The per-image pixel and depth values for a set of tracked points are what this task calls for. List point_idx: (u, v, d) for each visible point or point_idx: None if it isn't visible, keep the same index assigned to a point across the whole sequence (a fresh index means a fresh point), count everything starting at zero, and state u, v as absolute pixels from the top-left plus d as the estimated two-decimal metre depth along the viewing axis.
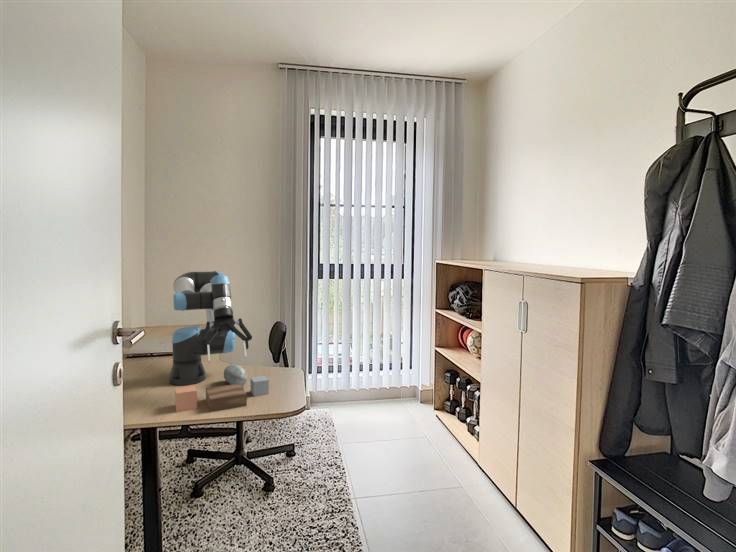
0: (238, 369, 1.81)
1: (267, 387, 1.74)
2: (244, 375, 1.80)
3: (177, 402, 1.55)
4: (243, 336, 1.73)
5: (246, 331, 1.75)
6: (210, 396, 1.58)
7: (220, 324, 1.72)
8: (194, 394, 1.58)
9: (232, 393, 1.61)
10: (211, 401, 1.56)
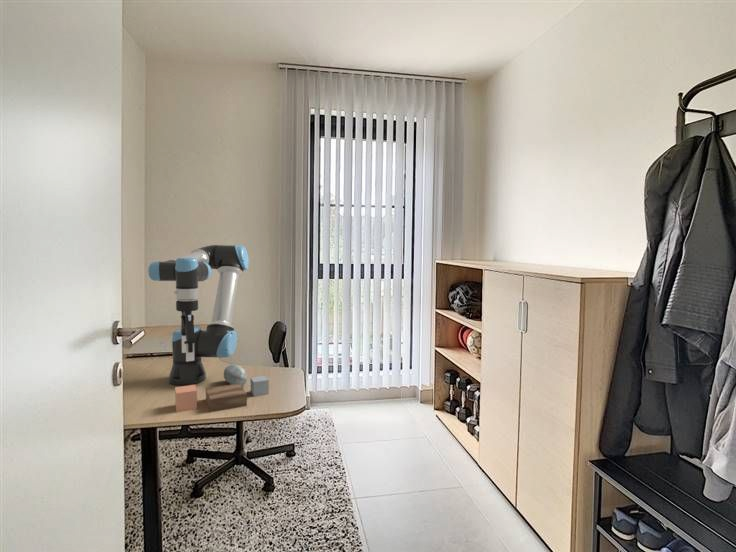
0: (238, 369, 1.81)
1: (267, 387, 1.74)
2: (244, 375, 1.80)
3: (177, 402, 1.55)
4: (186, 338, 1.52)
5: (186, 333, 1.50)
6: (210, 396, 1.58)
7: (181, 318, 1.58)
8: (194, 394, 1.58)
9: (232, 393, 1.61)
10: (211, 401, 1.56)
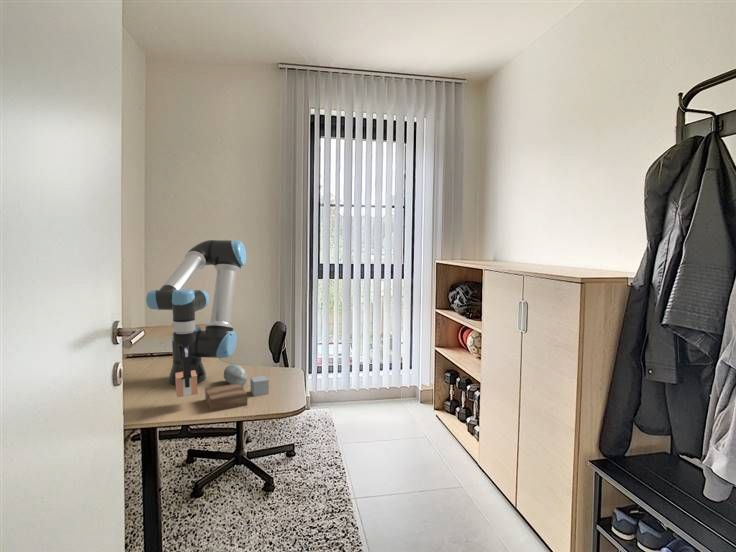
0: (238, 369, 1.81)
1: (267, 387, 1.74)
2: (244, 375, 1.80)
3: (177, 387, 1.55)
4: (183, 373, 1.55)
5: (183, 369, 1.53)
6: (211, 396, 1.58)
7: None
8: (195, 379, 1.58)
9: (232, 393, 1.61)
10: (212, 401, 1.56)
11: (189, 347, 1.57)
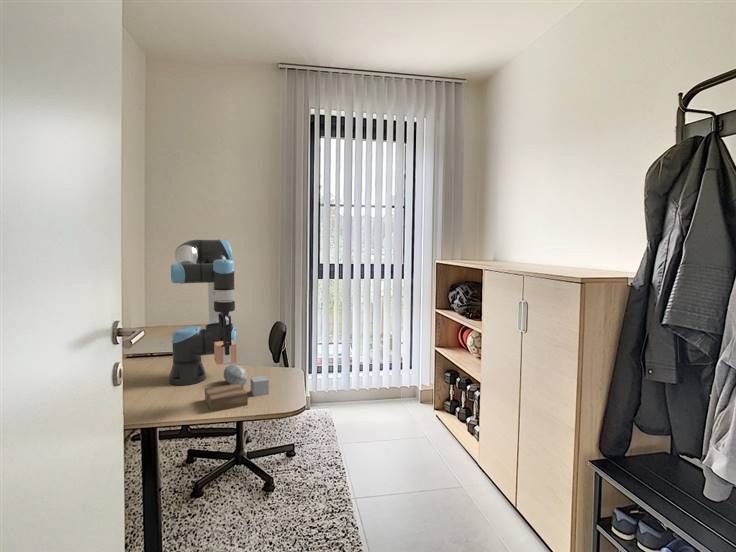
0: (238, 369, 1.81)
1: (267, 387, 1.74)
2: (244, 375, 1.80)
3: (217, 355, 1.58)
4: (223, 340, 1.58)
5: (224, 336, 1.56)
6: (211, 396, 1.58)
7: (218, 318, 1.62)
8: (234, 347, 1.61)
9: (233, 393, 1.62)
10: (212, 401, 1.56)
11: (229, 316, 1.61)
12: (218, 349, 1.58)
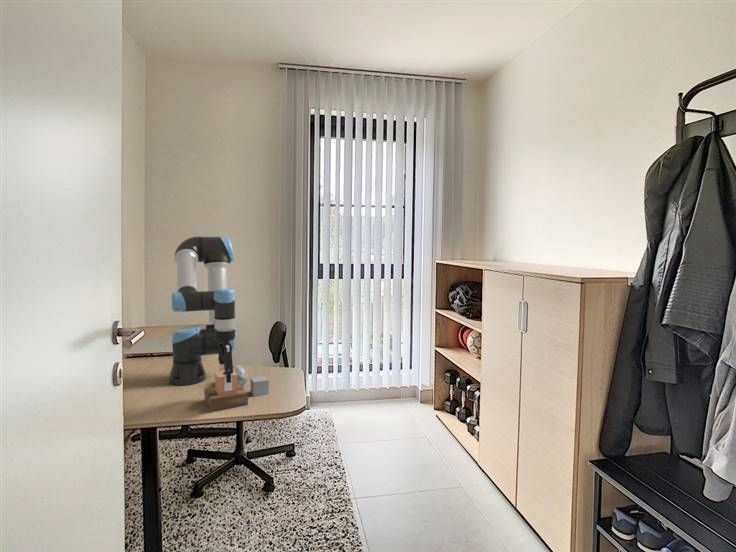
0: (238, 369, 1.81)
1: (267, 387, 1.74)
2: (244, 375, 1.80)
3: (218, 386, 1.59)
4: (224, 368, 1.57)
5: (225, 364, 1.56)
6: (211, 396, 1.58)
7: (219, 346, 1.63)
8: (235, 378, 1.62)
9: (233, 393, 1.62)
10: (213, 401, 1.56)
11: (229, 344, 1.62)
12: (219, 380, 1.59)
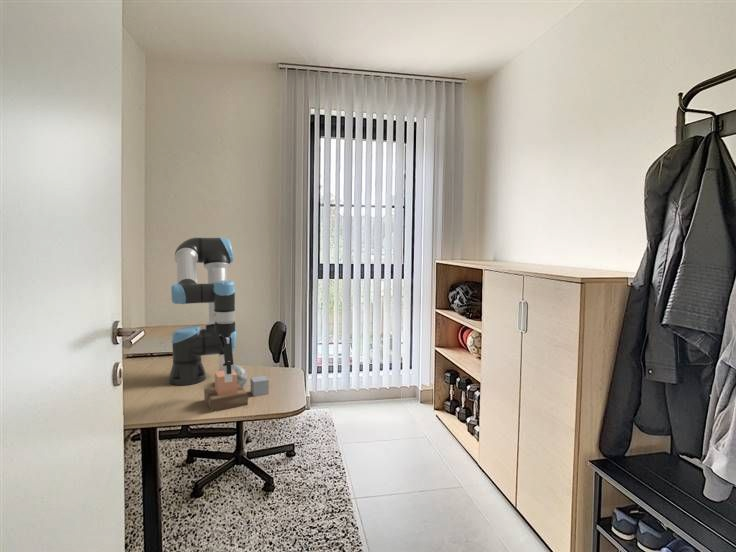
0: (238, 369, 1.81)
1: (267, 387, 1.74)
2: (244, 375, 1.80)
3: (219, 385, 1.59)
4: (224, 360, 1.57)
5: (225, 355, 1.55)
6: (211, 397, 1.58)
7: (219, 339, 1.63)
8: (235, 378, 1.62)
9: (233, 393, 1.62)
10: (213, 401, 1.55)
11: None
12: (219, 380, 1.59)
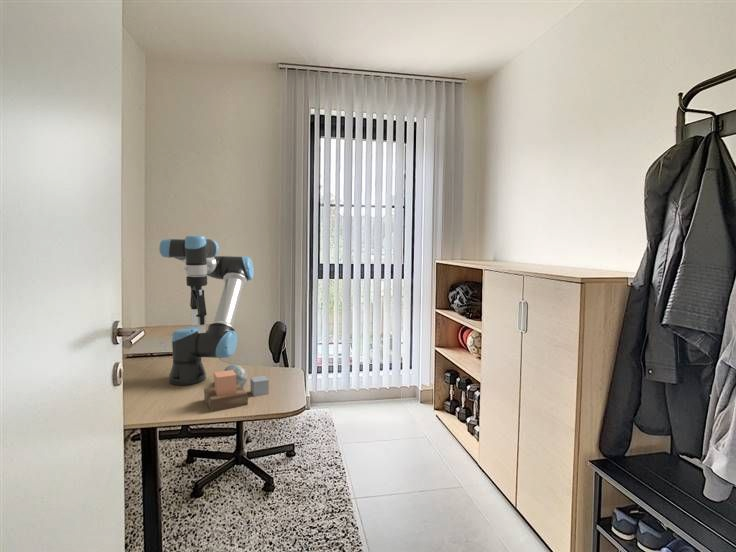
0: (238, 369, 1.81)
1: (267, 387, 1.74)
2: (244, 375, 1.80)
3: (218, 386, 1.59)
4: (198, 311, 1.61)
5: (198, 306, 1.60)
6: (211, 397, 1.58)
7: (191, 292, 1.67)
8: (234, 378, 1.62)
9: (233, 393, 1.62)
10: (213, 401, 1.56)
11: None
12: (218, 380, 1.59)
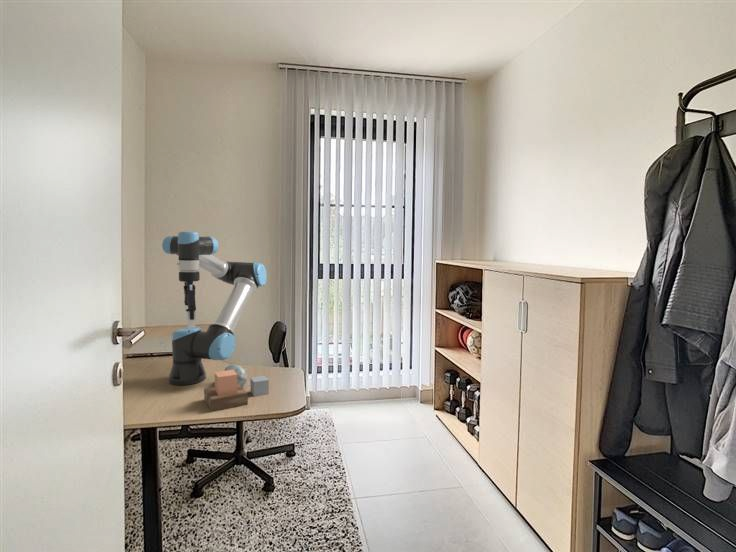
0: (238, 369, 1.81)
1: (267, 387, 1.74)
2: (244, 375, 1.80)
3: (219, 386, 1.59)
4: (188, 306, 1.62)
5: (188, 301, 1.61)
6: (211, 396, 1.58)
7: None
8: (235, 378, 1.62)
9: (233, 393, 1.62)
10: (213, 401, 1.56)
11: None
12: (219, 380, 1.59)
